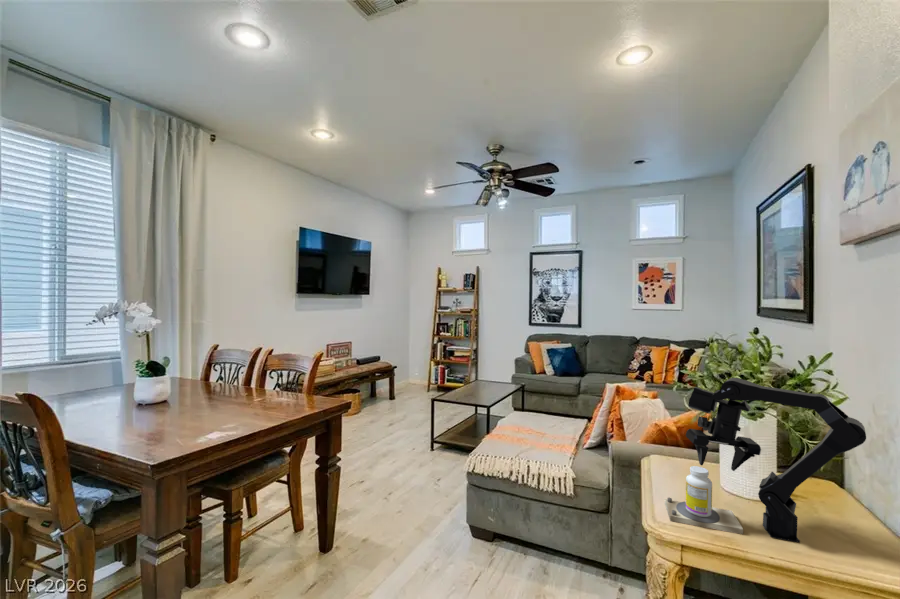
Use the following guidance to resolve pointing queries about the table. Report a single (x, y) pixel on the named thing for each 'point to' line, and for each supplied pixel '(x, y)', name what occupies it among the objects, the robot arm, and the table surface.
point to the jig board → (716, 520)
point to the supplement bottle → (699, 492)
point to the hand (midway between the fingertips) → (716, 467)
